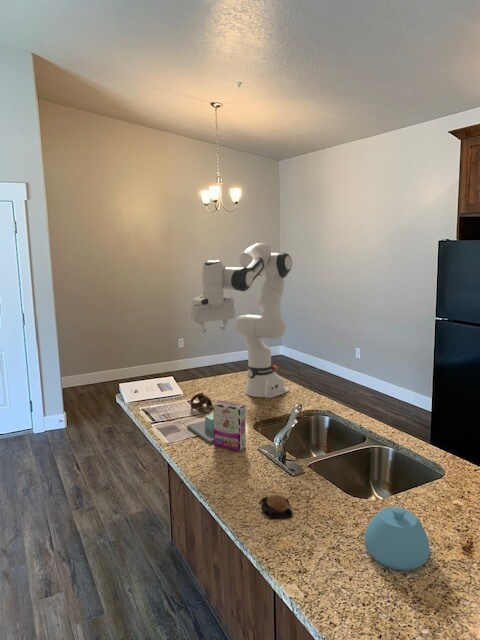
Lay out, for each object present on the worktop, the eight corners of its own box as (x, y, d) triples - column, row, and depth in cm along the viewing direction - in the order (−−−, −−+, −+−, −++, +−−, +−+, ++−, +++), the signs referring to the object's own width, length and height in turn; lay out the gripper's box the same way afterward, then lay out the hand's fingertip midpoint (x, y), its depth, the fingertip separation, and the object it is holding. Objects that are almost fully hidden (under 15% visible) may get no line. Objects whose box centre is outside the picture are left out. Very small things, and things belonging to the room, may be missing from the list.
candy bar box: (246, 447, 170) (246, 404, 167) (240, 452, 166) (240, 408, 163) (220, 441, 175) (219, 399, 172) (213, 446, 171) (212, 403, 168)
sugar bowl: (353, 556, 111) (355, 512, 109) (377, 526, 123) (380, 486, 121) (417, 585, 102) (421, 537, 100) (436, 549, 114) (440, 506, 112)
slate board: (217, 420, 195) (217, 417, 195) (240, 435, 180) (240, 432, 180) (187, 427, 187) (187, 425, 187) (209, 443, 173) (209, 440, 172)
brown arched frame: (215, 412, 205) (207, 399, 201) (196, 422, 205) (188, 408, 202) (212, 397, 216) (205, 384, 212) (194, 406, 216) (186, 393, 213)
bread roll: (257, 501, 136) (257, 490, 135) (285, 499, 137) (286, 487, 136) (265, 523, 125) (265, 510, 125) (295, 519, 127) (295, 507, 126)
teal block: (215, 425, 187) (215, 413, 186) (222, 429, 183) (222, 417, 182) (205, 427, 184) (204, 415, 183) (211, 432, 180) (211, 419, 179)
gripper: (229, 296, 204) (230, 327, 206) (188, 300, 193) (189, 332, 195) (237, 297, 199) (237, 329, 201) (195, 301, 187) (196, 335, 190)
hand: (213, 330), depth 198 cm, fingers open, 8 cm apart
